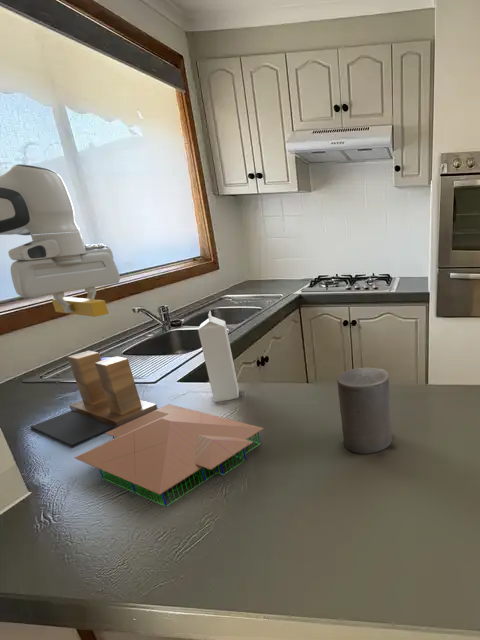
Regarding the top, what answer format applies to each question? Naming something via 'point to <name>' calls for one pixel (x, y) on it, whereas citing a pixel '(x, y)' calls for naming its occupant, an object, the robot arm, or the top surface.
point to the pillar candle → (365, 409)
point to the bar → (83, 306)
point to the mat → (72, 428)
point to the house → (169, 449)
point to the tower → (107, 389)
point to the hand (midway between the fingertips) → (80, 310)
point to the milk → (218, 359)
